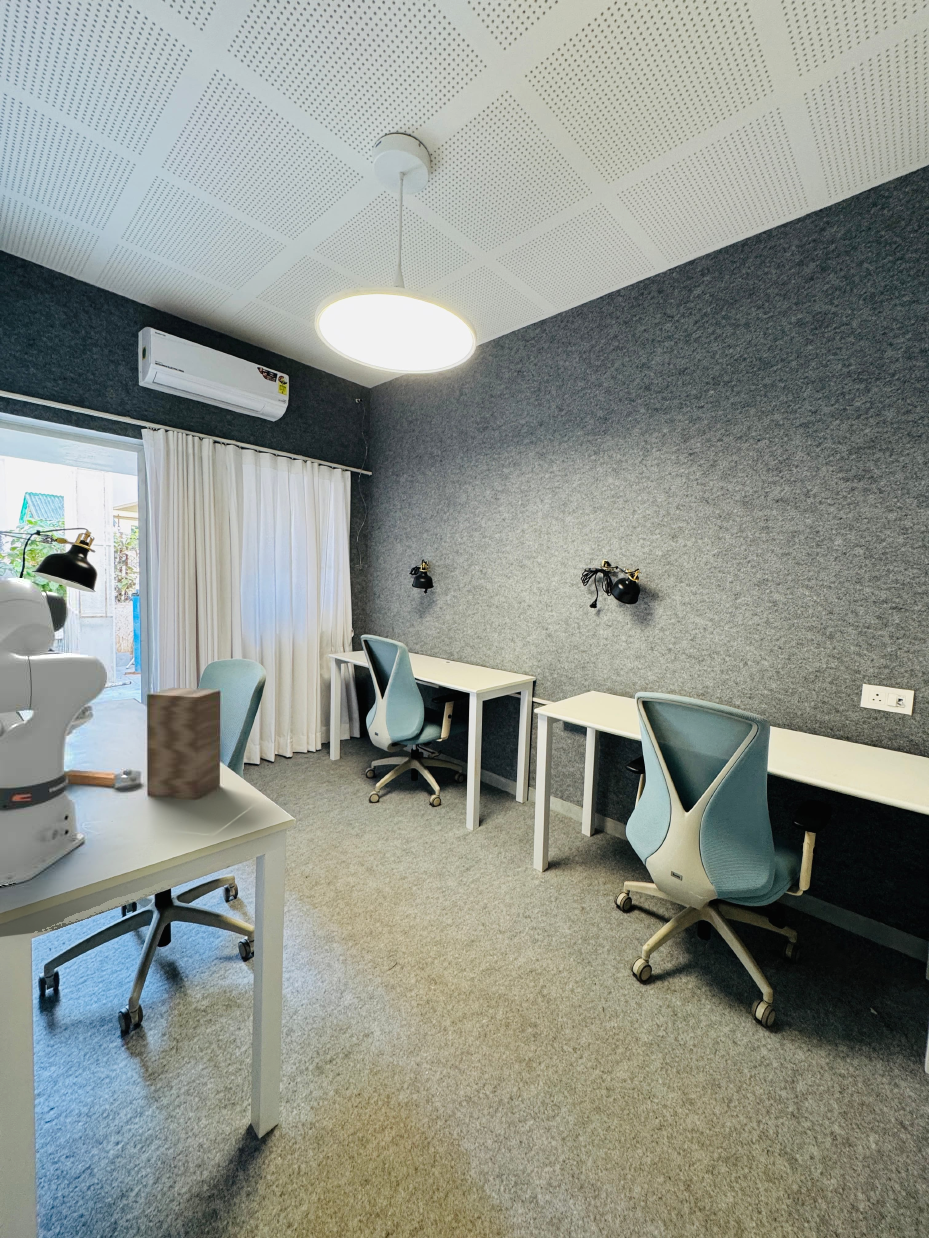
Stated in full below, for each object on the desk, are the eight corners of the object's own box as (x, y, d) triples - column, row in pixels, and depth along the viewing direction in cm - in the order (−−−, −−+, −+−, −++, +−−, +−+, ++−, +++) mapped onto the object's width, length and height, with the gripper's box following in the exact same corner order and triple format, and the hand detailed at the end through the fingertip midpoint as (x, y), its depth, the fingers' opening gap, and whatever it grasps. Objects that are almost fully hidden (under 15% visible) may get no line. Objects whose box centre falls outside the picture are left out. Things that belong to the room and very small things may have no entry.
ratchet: (146, 782, 134) (146, 767, 134) (128, 790, 128) (128, 775, 128) (76, 776, 137) (76, 761, 137) (55, 784, 131) (55, 768, 131)
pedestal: (219, 785, 133) (220, 690, 132) (197, 799, 124) (197, 697, 123) (172, 781, 135) (172, 687, 134) (147, 794, 126) (147, 694, 125)
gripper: (-11, 733, 125) (29, 710, 123) (65, 714, 145) (101, 693, 143) (0, 756, 125) (40, 732, 123) (74, 733, 145) (110, 713, 143)
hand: (73, 711), depth 133 cm, fingers open, 8 cm apart
